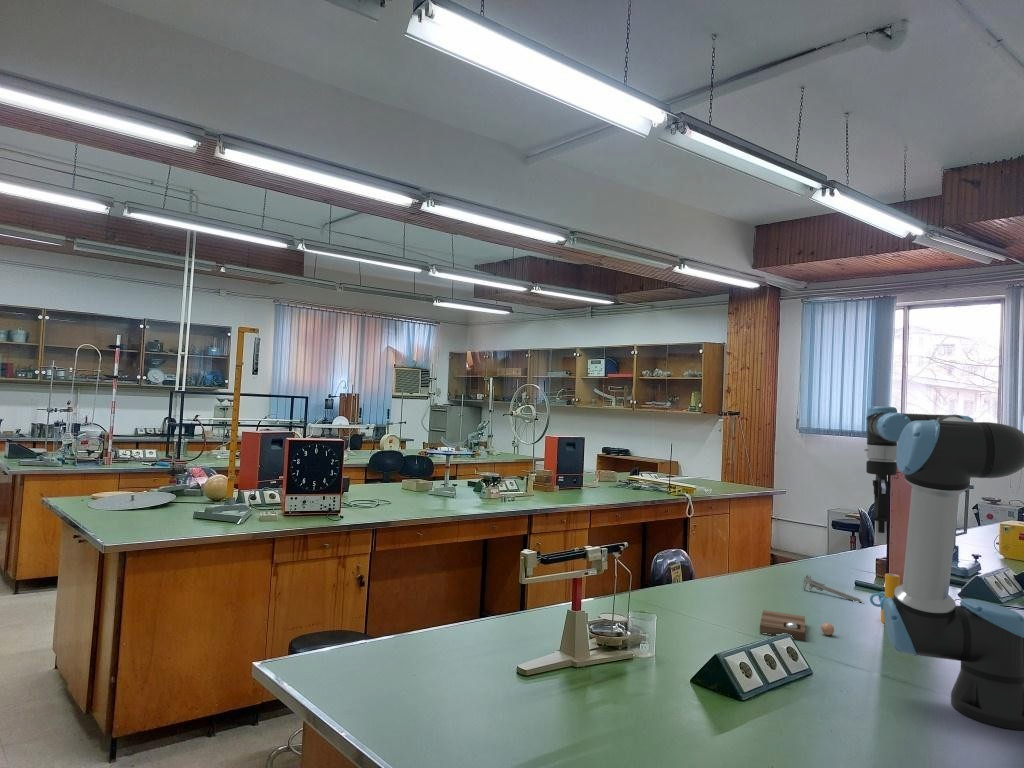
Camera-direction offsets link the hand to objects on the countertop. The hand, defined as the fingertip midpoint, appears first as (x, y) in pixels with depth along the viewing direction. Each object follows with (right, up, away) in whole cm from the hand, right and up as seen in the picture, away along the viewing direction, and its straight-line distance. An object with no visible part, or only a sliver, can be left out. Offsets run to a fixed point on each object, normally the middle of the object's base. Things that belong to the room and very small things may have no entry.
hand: (880, 543), depth 179 cm
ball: (-12, -27, +6) cm, 30 cm away
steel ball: (-23, -26, +5) cm, 35 cm away
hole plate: (-24, -28, +10) cm, 38 cm away
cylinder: (+15, -30, +20) cm, 39 cm away
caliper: (+11, -32, +48) cm, 59 cm away
